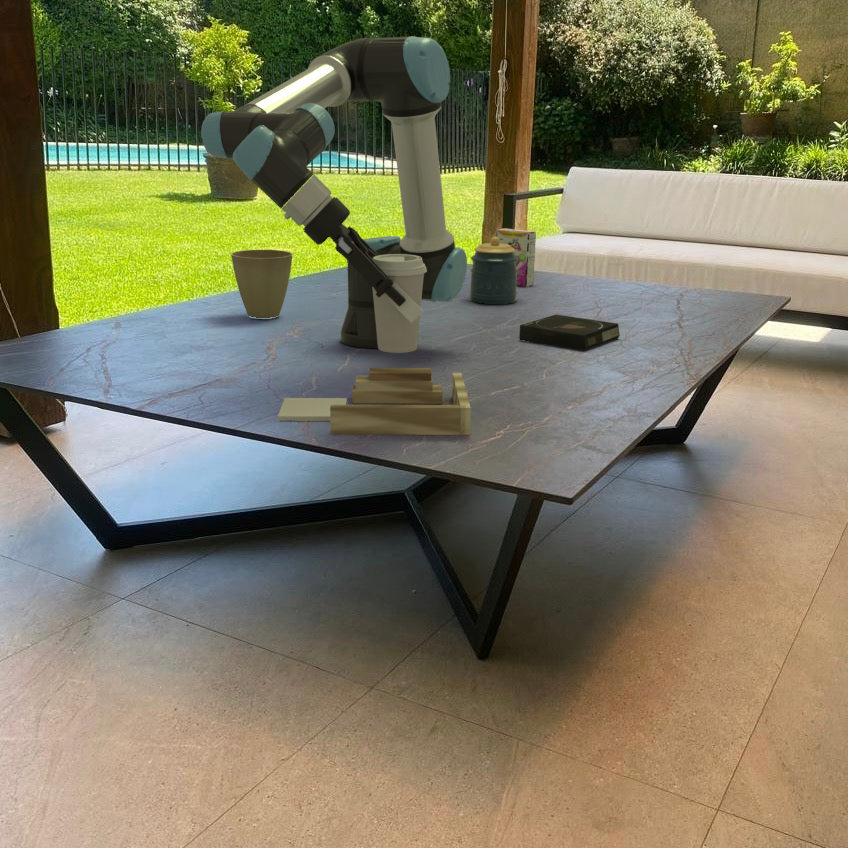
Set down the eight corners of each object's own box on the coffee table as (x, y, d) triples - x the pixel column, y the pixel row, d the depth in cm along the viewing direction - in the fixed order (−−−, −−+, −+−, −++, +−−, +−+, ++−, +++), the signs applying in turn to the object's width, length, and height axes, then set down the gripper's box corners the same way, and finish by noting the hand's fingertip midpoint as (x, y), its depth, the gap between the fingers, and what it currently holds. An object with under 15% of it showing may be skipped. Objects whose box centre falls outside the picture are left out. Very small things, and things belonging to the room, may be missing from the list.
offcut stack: (353, 396, 177) (353, 367, 176) (441, 396, 178) (441, 367, 176) (352, 403, 173) (352, 373, 171) (442, 403, 173) (442, 374, 172)
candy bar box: (493, 284, 297) (495, 229, 292) (501, 281, 301) (503, 228, 296) (526, 287, 291) (529, 232, 286) (534, 285, 295) (536, 230, 290)
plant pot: (229, 323, 237) (226, 257, 232) (238, 311, 251) (235, 249, 246) (291, 323, 237) (289, 257, 232) (296, 311, 251) (295, 249, 247)
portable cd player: (585, 353, 214) (586, 335, 212) (519, 342, 223) (519, 325, 222) (619, 340, 226) (620, 324, 225) (555, 330, 236) (556, 314, 235)
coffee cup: (413, 357, 156) (413, 264, 151) (359, 351, 159) (357, 260, 155) (434, 344, 164) (435, 255, 160) (382, 339, 168) (382, 251, 163)
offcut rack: (338, 396, 177) (337, 372, 176) (460, 396, 178) (461, 373, 176) (330, 434, 156) (330, 407, 155) (470, 434, 157) (470, 408, 155)
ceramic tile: (285, 402, 173) (284, 397, 173) (346, 402, 173) (346, 398, 173) (278, 420, 163) (277, 416, 162) (344, 421, 163) (343, 416, 163)
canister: (503, 307, 261) (505, 240, 256) (461, 301, 268) (462, 237, 262) (524, 299, 272) (527, 236, 266) (483, 295, 278) (485, 232, 273)
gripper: (306, 220, 166) (400, 312, 171) (294, 238, 145) (401, 342, 150) (337, 188, 164) (430, 282, 170) (329, 201, 143) (435, 308, 149)
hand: (416, 310), depth 160 cm, fingers closed on coffee cup, 9 cm apart
